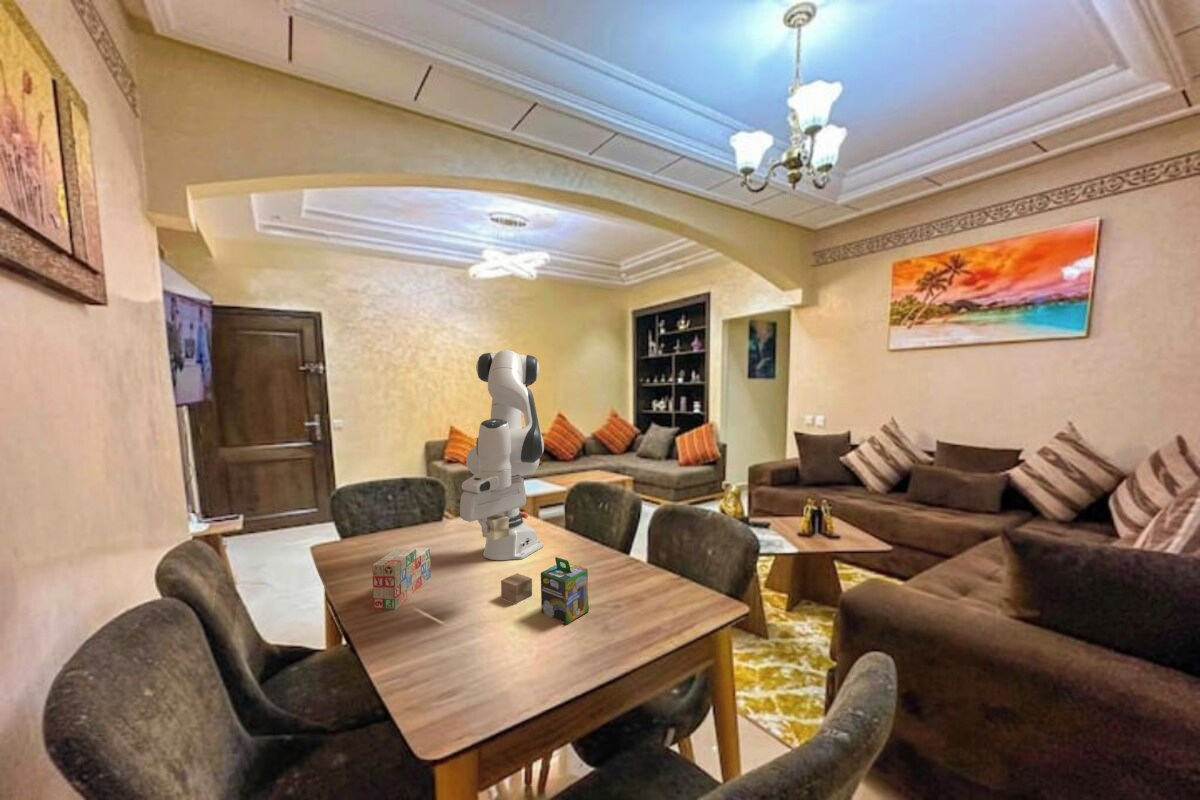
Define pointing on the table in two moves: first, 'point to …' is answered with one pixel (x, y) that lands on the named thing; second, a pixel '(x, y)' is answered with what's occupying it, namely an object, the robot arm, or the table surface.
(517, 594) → the walnut block
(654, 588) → the table surface
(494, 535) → the birch cube
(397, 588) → the stack of blocks
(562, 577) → the chalk box
